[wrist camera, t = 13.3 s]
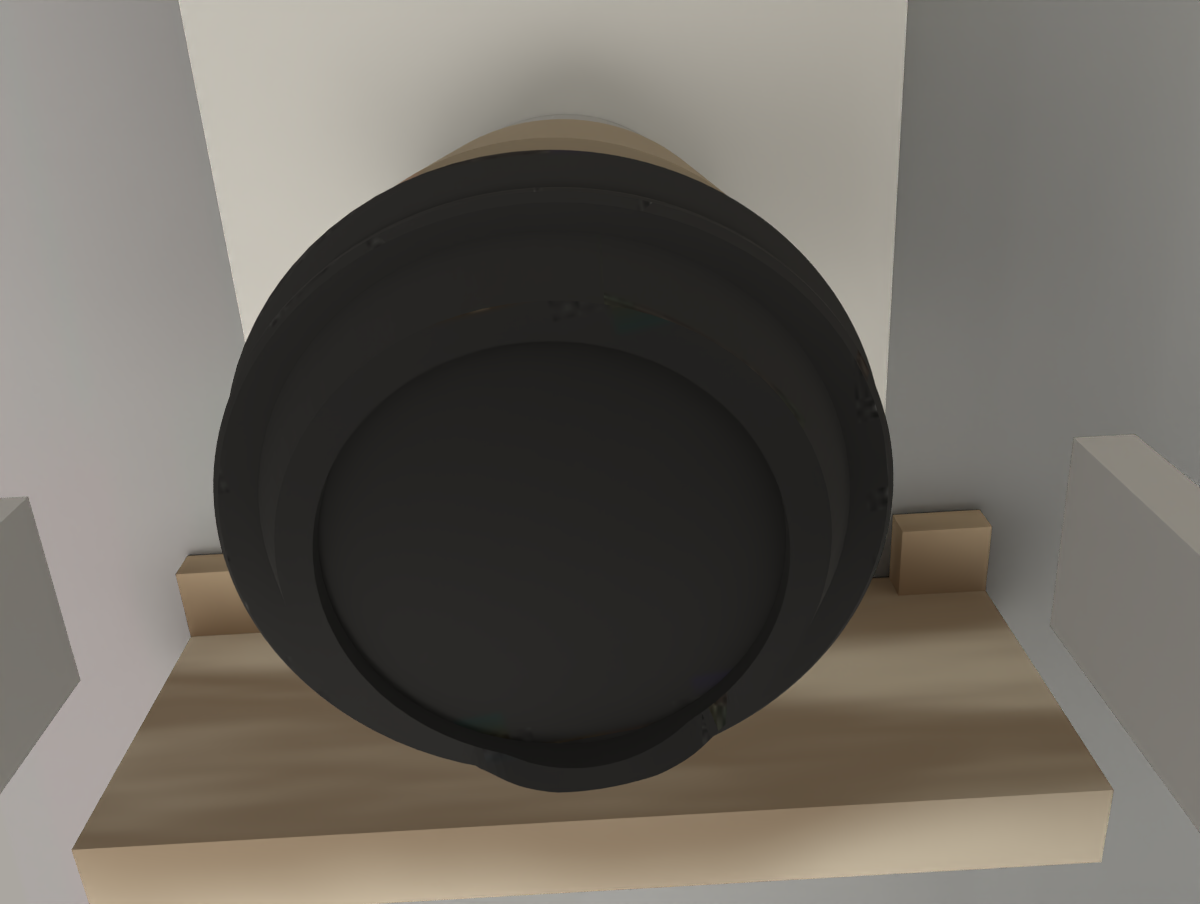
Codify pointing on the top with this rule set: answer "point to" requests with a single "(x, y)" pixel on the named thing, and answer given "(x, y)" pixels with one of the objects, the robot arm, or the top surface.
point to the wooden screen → (621, 813)
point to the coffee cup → (553, 460)
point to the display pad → (557, 112)
